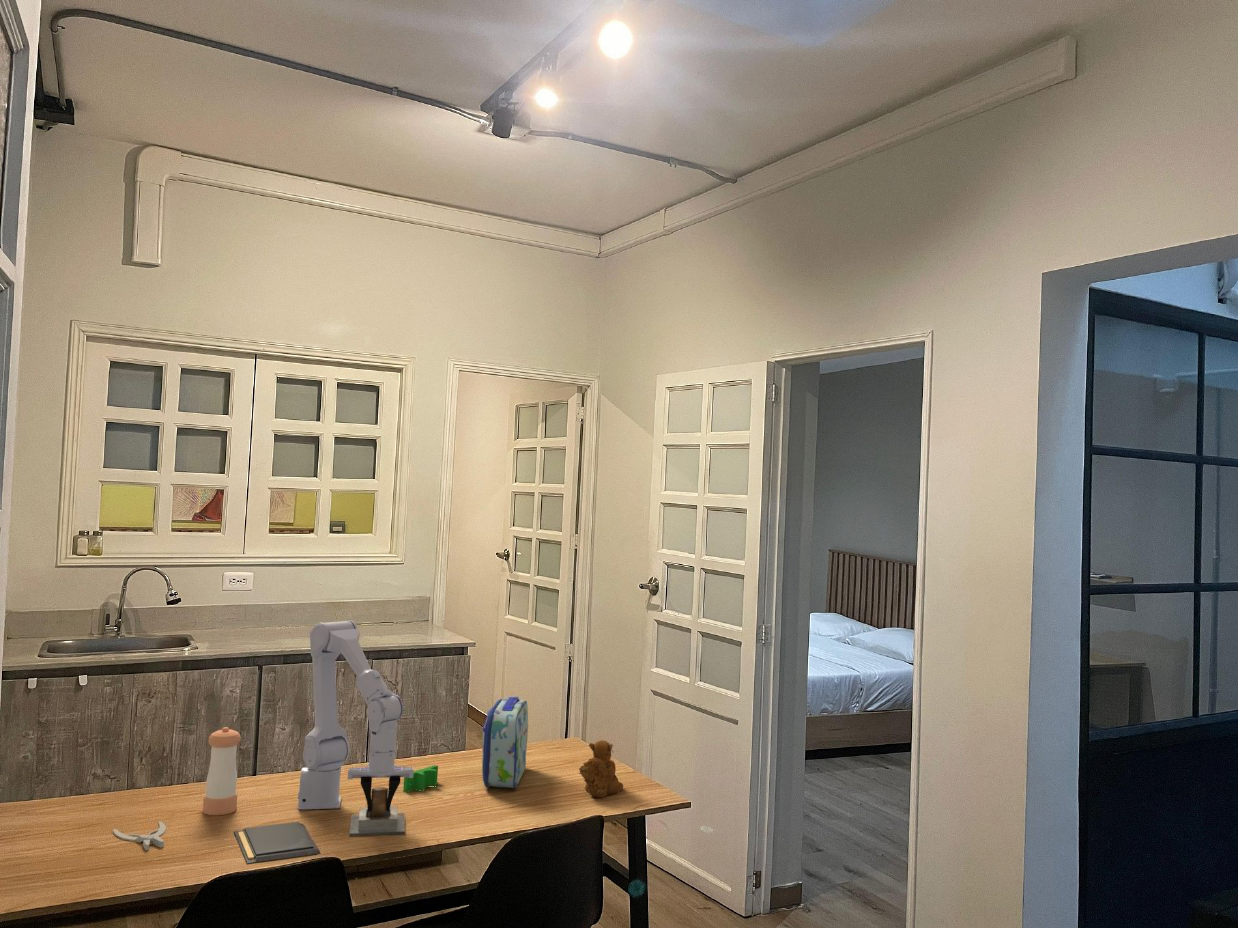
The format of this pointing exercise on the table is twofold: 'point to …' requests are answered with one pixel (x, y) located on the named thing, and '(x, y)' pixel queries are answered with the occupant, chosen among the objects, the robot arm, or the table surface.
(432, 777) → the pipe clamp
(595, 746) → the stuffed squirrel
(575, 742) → the table surface
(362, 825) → the mount
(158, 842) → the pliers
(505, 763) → the lunch box
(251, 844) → the grey flat slab
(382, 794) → the cylinder
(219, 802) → the pepper shaker
